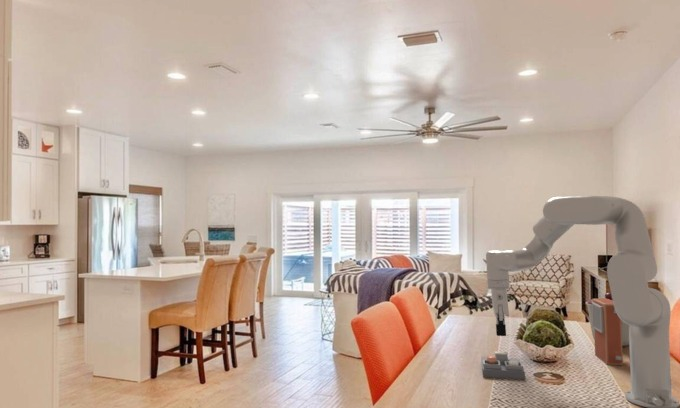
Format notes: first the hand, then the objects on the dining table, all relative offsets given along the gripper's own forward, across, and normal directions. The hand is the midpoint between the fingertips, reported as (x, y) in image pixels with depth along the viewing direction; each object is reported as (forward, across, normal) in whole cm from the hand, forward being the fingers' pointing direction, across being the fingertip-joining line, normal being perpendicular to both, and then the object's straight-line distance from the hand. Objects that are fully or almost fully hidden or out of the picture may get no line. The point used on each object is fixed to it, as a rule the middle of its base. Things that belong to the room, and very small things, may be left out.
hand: (501, 335), depth 169 cm
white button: (+8, -12, -3) cm, 15 cm away
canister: (+11, +40, -46) cm, 61 cm away
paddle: (+8, -7, +1) cm, 10 cm away
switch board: (+10, -9, +1) cm, 14 cm away
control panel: (+11, +14, -38) cm, 42 cm away
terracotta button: (+6, -12, +4) cm, 15 cm away
